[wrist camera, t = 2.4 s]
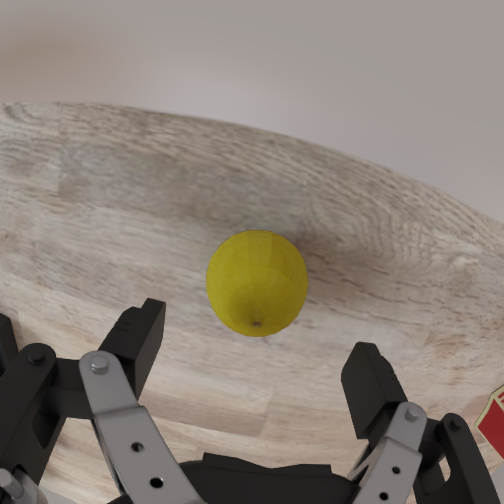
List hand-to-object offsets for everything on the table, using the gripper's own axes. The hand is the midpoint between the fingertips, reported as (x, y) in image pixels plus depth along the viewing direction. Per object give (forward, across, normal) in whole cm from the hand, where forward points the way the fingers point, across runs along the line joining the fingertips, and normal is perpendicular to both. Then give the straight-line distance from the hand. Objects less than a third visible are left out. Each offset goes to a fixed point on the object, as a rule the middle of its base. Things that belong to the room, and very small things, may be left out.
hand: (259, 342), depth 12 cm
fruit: (+9, 0, 0) cm, 9 cm away
